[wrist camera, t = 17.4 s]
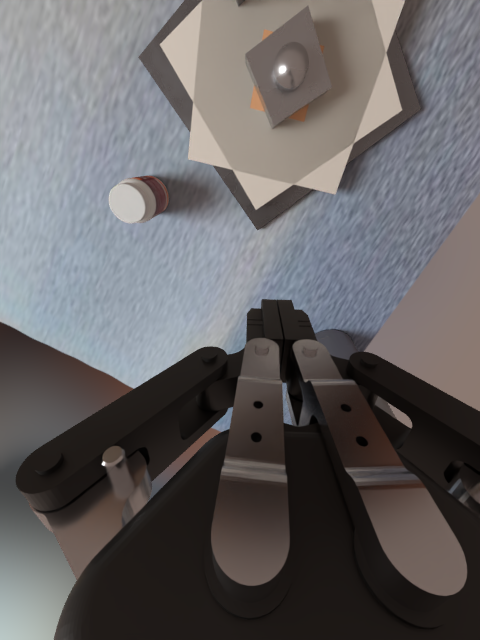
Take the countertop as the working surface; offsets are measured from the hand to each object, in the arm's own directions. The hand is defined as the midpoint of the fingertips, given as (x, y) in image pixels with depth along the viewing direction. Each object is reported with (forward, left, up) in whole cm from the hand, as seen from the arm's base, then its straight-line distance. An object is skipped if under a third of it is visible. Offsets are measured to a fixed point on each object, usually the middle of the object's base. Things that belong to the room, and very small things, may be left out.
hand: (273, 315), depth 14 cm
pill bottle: (+11, +10, -27) cm, 31 cm away
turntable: (+10, -10, -26) cm, 29 cm away
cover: (+10, -10, -24) cm, 28 cm away
